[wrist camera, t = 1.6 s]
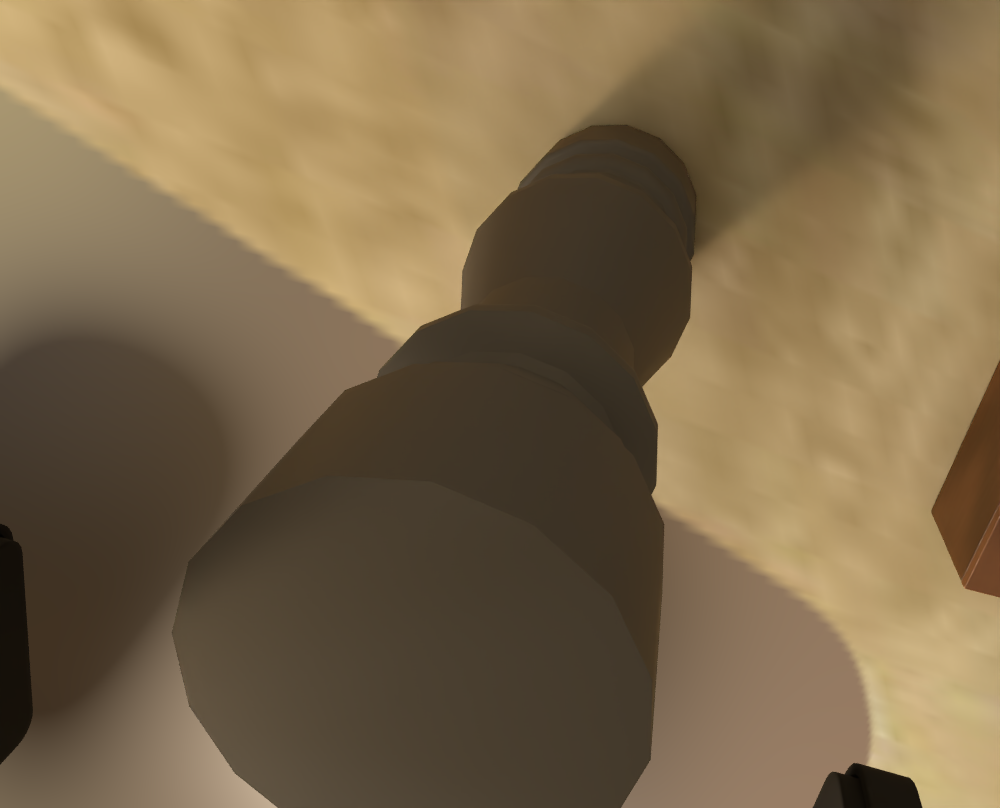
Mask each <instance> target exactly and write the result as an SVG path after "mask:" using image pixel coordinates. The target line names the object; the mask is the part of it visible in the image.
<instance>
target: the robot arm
mask: <svg viewBox="0 0 1000 808" xmlns="http://www.w3.org/2000/svg"><path fill="white" fill-rule="evenodd" d="M24 587H25V586H24V571H23V556H22V549H21V546H20V545H19V543H17V542H15V541H13V536H12V532H11V531H10V529H9V528H8V527H7V526H5V525H2V524H0V764H1V763H2V762H3V761H4V760H5V759H6V758H7V756H9V754H10V753H11V752H12V751H13V750H14V749H15V748H16V747H17V746H18V744H19V743H20V742H21V741H22V739H23V737H24V736H25V734H26V733H27V730H28V728H29V726H30V723H31V719H32V713H33V707H32V692H31V676H30V662H29V646H28V631H27V616H26V601H25V588H24ZM813 808H922V805H921V801H920V798H919V794H918V791H917V788H916V786H915V783H914V782H913V781H912V780H911V779H910V778H908V777H905V776H901V775H897V774H894V773H890V772H887V771H883V770H880V769H876V768H872V767H869V766H865V765H862V764H857V763H853V764H852V765H851V766H850V767H849V768H848V770H847V771H846V773H845V775H844V774H841V773H837V772H831V773H830V774H829V775H828V777H827V778H826V780H825V782H824V785H823V787H822V789H821V791H820V794H819V795H818V798H817V800H816V802H815V804H814V806H813Z"/></svg>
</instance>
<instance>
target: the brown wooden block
mask: <svg viewBox="0 0 1000 808" xmlns="http://www.w3.org/2000/svg"><path fill="white" fill-rule="evenodd" d="M932 515H933V517H934V519H935V522H936V524H937V526H938V529H939V531H940V533H941V535H942V538H943V540H944V542H945V545H946V547H947V549H948V552H949V554H950V556H951V559H952V561H953V563H954V565H955V568H956V570H957V572H958V575H959V577H960V579H961V581H962V584H963V587H964V588H965V589H969V590H973V591H977V592H981V593H985V594H989V595H993V596H996V597H1000V362H999V364H998V366H997V369H996V371H995V373H994V375H993V377H992V380H991V382H990V384H989V386H988V388H987V391H986V393H985V395H984V397H983V399H982V402H981V404H980V406H979V408H978V410H977V413H976V415H975V417H974V419H973V421H972V424H971V426H970V428H969V430H968V432H967V435H966V437H965V439H964V441H963V443H962V445H961V448H960V450H959V452H958V454H957V456H956V459H955V461H954V463H953V465H952V467H951V470H950V472H949V474H948V476H947V478H946V481H945V483H944V485H943V487H942V489H941V492H940V494H939V496H938V498H937V500H936V503H935V505H934V507H933V509H932Z"/></svg>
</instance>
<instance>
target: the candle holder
mask: <svg viewBox="0 0 1000 808" xmlns="http://www.w3.org/2000/svg"><path fill="white" fill-rule="evenodd" d="M695 215H696V194H695V191H694V189H693V186H692V183H691V181H690V178H689V175H688V173H687V170H686V168H685V165H684V163H683V162H682V161H681V160H680V159H679V158H678V157H677V156H676V155H675V154H674V153H673V152H672V151H671V150H670V149H669V148H668V147H667V146H666V145H665V144H664V143H663V142H662V141H661V139H660V138H657V137H655V136H653V135H650V134H648V133H645V132H643V131H640V130H638V129H635V128H633V127H630V126H628V125H606V126H590V127H588V128H586V129H583V130H581V131H579V132H577V133H575V134H572V135H570V136H568V137H566V138H564V139H561V140H559V142H558V143H557V144H556V145H555V146H554V147H553V148H552V149H551V150H550V151H549V152H548V153H547V154H546V155H545V156H544V157H543V158H542V159H541V160H540V162H539V163H538V164H537V165H536V166H535V167H534V168H533V169H532V170H531V171H530V172H529V173H528V175H527V176H526V177H525V178H524V179H523V180H522V181H521V182H520V184H519V187H518V190H516V191H513V192H511V193H510V194H509V195H508V197H507V198H506V199H505V200H504V201H503V202H502V203H501V204H500V205H499V206H498V207H497V208H496V209H495V211H494V212H493V213H492V214H491V215H490V216H489V217H488V218H487V219H486V220H485V221H484V222H483V224H482V225H481V226H480V227H479V228H478V229H477V231H476V234H475V236H474V239H473V242H472V245H471V248H470V251H469V254H468V256H467V259H466V262H465V265H464V268H463V272H462V298H461V310H459V311H457V312H454V313H452V314H449V315H447V316H444V317H442V318H439V319H437V320H434V321H432V322H429V323H427V324H424V325H422V326H421V327H420V328H419V329H418V330H417V331H416V332H415V333H414V334H413V335H412V336H411V337H410V338H409V339H408V340H407V341H406V342H405V343H404V345H403V346H402V347H401V348H400V349H399V350H398V351H397V352H396V353H395V354H394V355H393V356H392V357H391V358H390V359H389V360H388V361H387V363H385V365H384V366H383V367H382V368H381V369H380V370H379V373H378V376H377V378H375V379H373V380H371V381H368V382H365V383H362V384H360V385H357V386H355V387H352V388H349V389H347V390H345V391H344V392H343V393H342V394H341V395H340V396H339V397H338V398H337V399H336V400H335V401H334V403H333V404H332V405H331V406H330V407H329V408H328V409H327V410H326V411H325V412H324V414H322V415H321V416H320V418H319V419H318V420H317V421H316V422H315V423H314V424H313V425H312V426H311V427H310V428H309V429H308V430H307V431H306V432H305V434H304V435H303V436H302V437H301V438H300V439H299V440H298V441H297V442H296V443H295V445H294V446H293V447H292V448H291V449H290V450H289V451H288V452H287V453H286V455H284V457H283V458H282V459H281V460H280V461H279V462H278V463H277V464H276V465H275V467H274V468H273V469H272V470H271V471H270V472H269V473H268V475H266V477H265V478H264V479H263V480H262V481H261V482H260V483H259V484H258V485H257V487H256V488H255V489H254V490H253V491H252V492H251V493H250V494H249V495H248V497H247V498H246V499H245V500H244V501H243V502H242V503H241V504H240V505H239V507H238V508H237V509H236V510H235V511H234V512H233V513H232V514H231V515H230V516H229V518H228V519H227V520H226V521H225V522H224V523H223V524H222V525H221V527H220V528H219V529H218V530H217V531H216V532H215V533H214V534H213V535H212V537H211V538H210V539H209V540H208V541H207V542H206V543H205V544H204V545H203V546H202V547H201V549H200V550H199V551H198V552H197V553H196V554H195V555H194V556H193V558H192V559H191V560H190V561H189V562H188V566H187V571H186V575H185V579H184V584H183V588H182V592H181V596H180V600H179V605H178V609H177V613H176V617H175V622H174V626H173V630H172V635H173V639H174V644H175V648H176V652H177V657H178V660H179V665H180V669H181V673H182V677H183V682H184V685H185V690H186V694H187V698H188V703H189V707H190V708H191V709H192V711H193V712H194V714H195V715H196V717H197V718H198V720H199V721H200V723H201V724H202V726H203V727H204V728H205V730H206V732H207V733H208V734H209V736H210V737H211V739H212V740H213V742H214V743H215V745H216V746H217V748H218V749H219V750H220V752H221V754H222V755H223V756H224V758H225V759H226V761H227V762H228V763H229V765H230V767H231V768H232V770H233V771H234V772H235V774H236V775H238V776H239V777H240V778H242V779H243V780H244V781H245V782H247V783H248V784H249V785H250V786H251V787H253V788H254V789H255V790H256V791H258V792H259V793H260V794H262V795H263V796H264V797H265V798H266V799H268V800H269V801H270V802H271V803H273V804H274V805H275V806H277V807H278V808H621V807H622V805H623V803H624V802H625V800H626V798H627V797H628V795H629V794H630V792H631V790H632V789H633V787H634V785H635V784H636V782H637V781H638V779H639V777H640V776H641V774H642V773H643V771H644V769H645V768H646V766H647V764H648V763H649V761H650V759H651V744H652V730H653V716H654V702H655V687H656V673H657V659H658V645H659V631H660V616H661V602H662V581H663V580H662V579H663V548H664V523H663V520H662V518H661V516H660V514H659V511H658V509H657V507H656V505H655V502H654V500H653V498H652V496H651V494H652V492H653V490H654V489H655V487H656V477H657V437H658V424H657V421H656V419H655V416H654V414H653V412H652V409H651V407H650V405H649V402H648V400H647V398H646V395H645V393H644V391H643V388H642V386H643V385H644V384H645V383H646V382H647V381H648V380H649V379H650V378H651V377H652V376H653V375H654V374H655V373H656V372H657V371H658V370H659V369H660V368H661V366H662V365H663V364H664V363H665V362H666V361H667V360H668V359H669V358H670V357H671V356H672V353H673V351H674V349H675V347H676V345H677V343H678V341H679V339H680V337H681V335H682V333H683V331H684V329H685V327H686V325H687V323H688V321H689V319H690V307H691V281H692V265H691V262H690V261H691V259H692V257H693V255H694V240H695Z"/></svg>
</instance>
